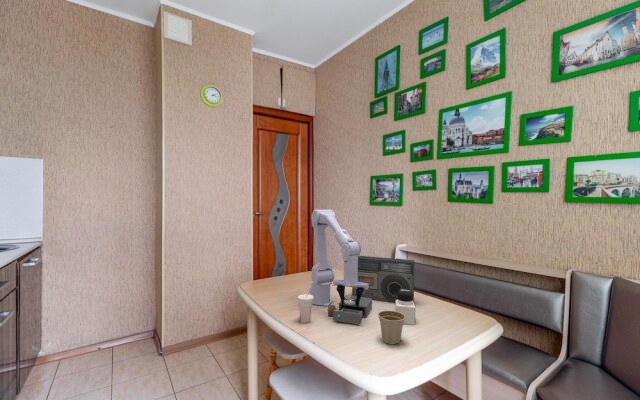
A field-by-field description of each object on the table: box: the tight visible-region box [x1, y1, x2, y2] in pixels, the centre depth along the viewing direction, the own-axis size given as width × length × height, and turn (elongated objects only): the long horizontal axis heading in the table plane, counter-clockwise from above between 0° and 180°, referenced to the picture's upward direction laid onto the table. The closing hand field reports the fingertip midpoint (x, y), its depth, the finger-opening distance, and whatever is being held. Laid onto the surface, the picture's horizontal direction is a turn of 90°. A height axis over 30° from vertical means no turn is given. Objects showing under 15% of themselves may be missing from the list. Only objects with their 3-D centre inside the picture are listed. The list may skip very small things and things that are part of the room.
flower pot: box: [377, 310, 406, 345], centre depth 101 cm, size 9×9×9 cm
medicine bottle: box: [394, 290, 416, 326], centre depth 118 cm, size 7×7×12 cm
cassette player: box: [351, 255, 415, 304], centre depth 143 cm, size 29×7×20 cm, turn 68°
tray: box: [332, 306, 364, 325], centre depth 119 cm, size 12×11×4 cm
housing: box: [338, 294, 373, 319], centre depth 127 cm, size 12×12×4 cm
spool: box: [327, 304, 337, 318], centre depth 122 cm, size 3×3×4 cm
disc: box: [343, 297, 356, 305], centre depth 118 cm, size 6×6×2 cm
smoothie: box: [297, 285, 314, 324], centre depth 116 cm, size 6×6×14 cm
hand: (350, 304), depth 118 cm, fingers closed on disc, 6 cm apart
